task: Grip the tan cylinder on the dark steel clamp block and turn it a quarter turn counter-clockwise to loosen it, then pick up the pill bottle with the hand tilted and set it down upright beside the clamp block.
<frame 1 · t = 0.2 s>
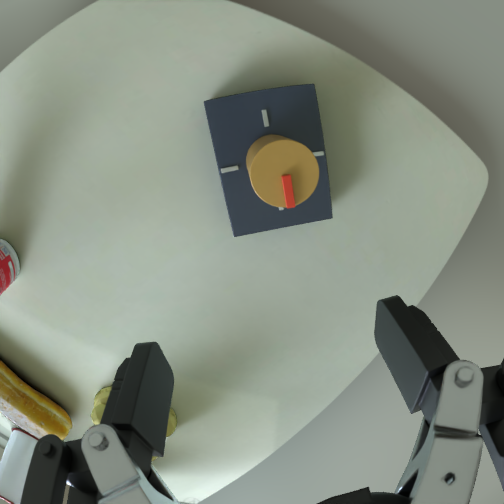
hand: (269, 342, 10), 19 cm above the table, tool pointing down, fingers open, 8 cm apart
container: (35, 443, 53), on the table
figurine: (135, 410, 41), on the table
tan cylinder: (278, 166, 20), point 6 cm above the table, hinge at 0.0°
bread: (20, 384, 39), on the table
clamp block: (269, 156, 25), on the table
pill bottle: (6, 257, 28), on the table
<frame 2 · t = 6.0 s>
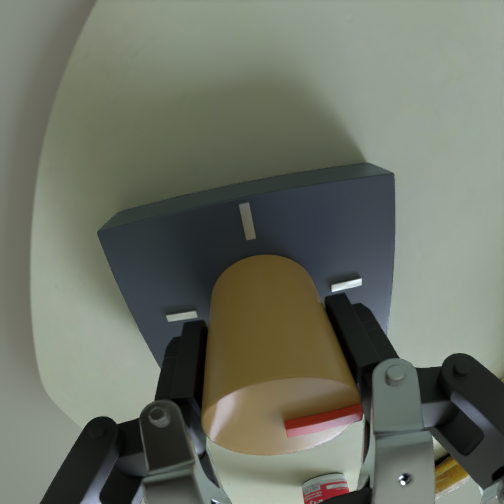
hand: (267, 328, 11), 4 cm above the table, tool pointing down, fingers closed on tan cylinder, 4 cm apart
tan cylinder: (272, 354, 9), point 6 cm above the table, hinge at 0.0°, touching gripper
bread: (437, 463, 37), on the table
clamp block: (259, 271, 15), on the table
pill bottle: (323, 479, 30), on the table
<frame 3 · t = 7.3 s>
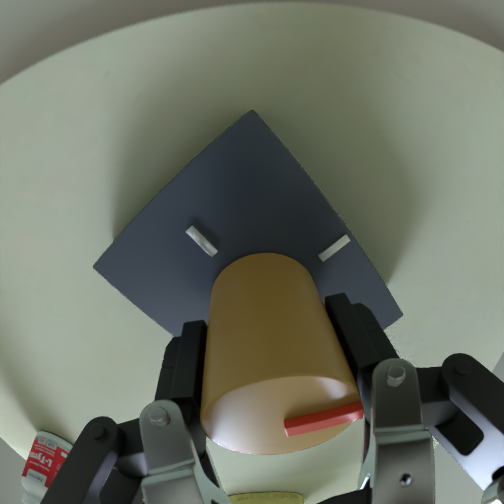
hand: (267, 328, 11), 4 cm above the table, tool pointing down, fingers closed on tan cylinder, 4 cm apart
figurine: (258, 501, 34), on the table
tan cylinder: (272, 353, 9), point 6 cm above the table, hinge at 62.1°, touching gripper
clamp block: (258, 269, 14), on the table
pill bottle: (58, 441, 24), on the table
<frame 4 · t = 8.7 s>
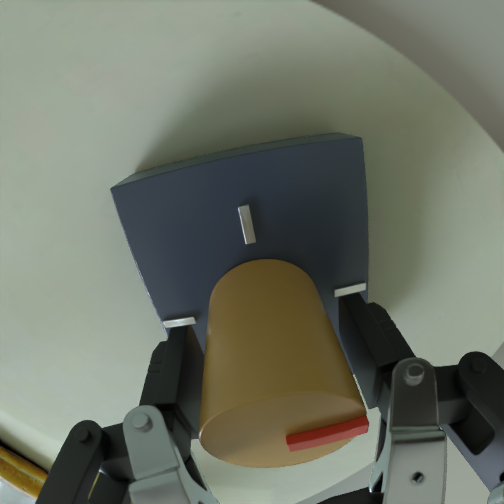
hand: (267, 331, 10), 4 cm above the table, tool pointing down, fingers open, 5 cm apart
container: (25, 480, 42), on the table
tan cylinder: (273, 364, 9), point 6 cm above the table, hinge at 92.0°
clamp block: (259, 274, 14), on the table
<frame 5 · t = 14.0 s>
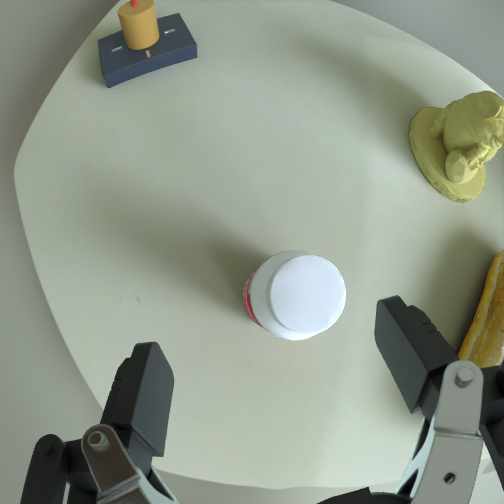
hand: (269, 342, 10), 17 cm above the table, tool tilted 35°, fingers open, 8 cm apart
figurine: (446, 155, 33), on the table
tan cylinder: (139, 22, 25), point 6 cm above the table, hinge at 92.0°
bread: (483, 339, 30), on the table
clamp block: (146, 52, 30), on the table
pill bottle: (274, 295, 28), on the table
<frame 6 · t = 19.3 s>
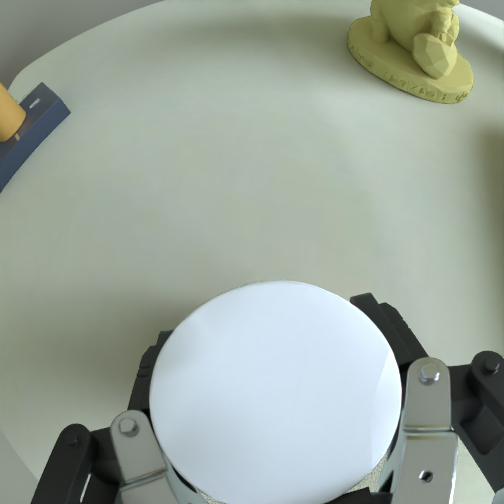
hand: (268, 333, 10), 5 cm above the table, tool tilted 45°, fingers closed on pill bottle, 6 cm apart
figurine: (410, 60, 22), on the table
clamp block: (24, 138, 24), on the table
pill bottle: (277, 367, 15), on the table, touching gripper
when the fingers open (5 cm above the table, at t = 27.0 s): pill bottle stays where it is, on the table.
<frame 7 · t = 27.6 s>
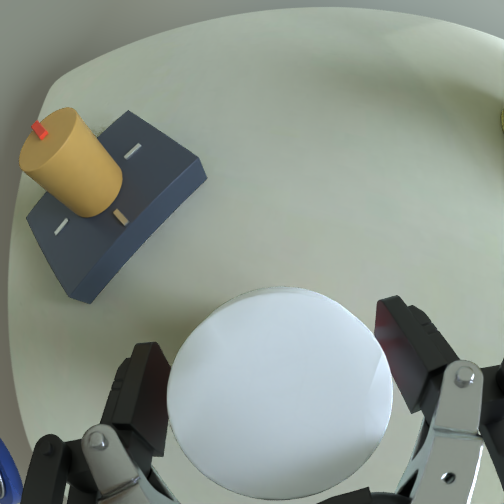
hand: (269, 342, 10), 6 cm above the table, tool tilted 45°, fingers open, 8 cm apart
tan cylinder: (71, 163, 15), point 6 cm above the table, hinge at 92.0°
clamp block: (112, 205, 20), on the table
pill bottle: (279, 367, 16), on the table
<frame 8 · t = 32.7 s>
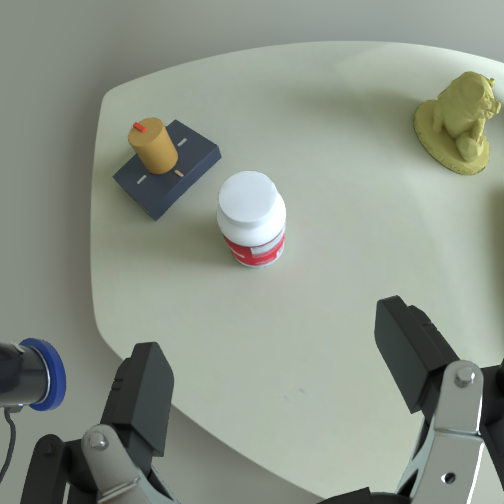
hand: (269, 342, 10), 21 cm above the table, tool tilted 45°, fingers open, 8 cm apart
figurine: (451, 138, 36), on the table
tan cylinder: (153, 145, 32), point 6 cm above the table, hinge at 92.0°
clamp block: (168, 171, 38), on the table
pill bottle: (257, 243, 33), on the table
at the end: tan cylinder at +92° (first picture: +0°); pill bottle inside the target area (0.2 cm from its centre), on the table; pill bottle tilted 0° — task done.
